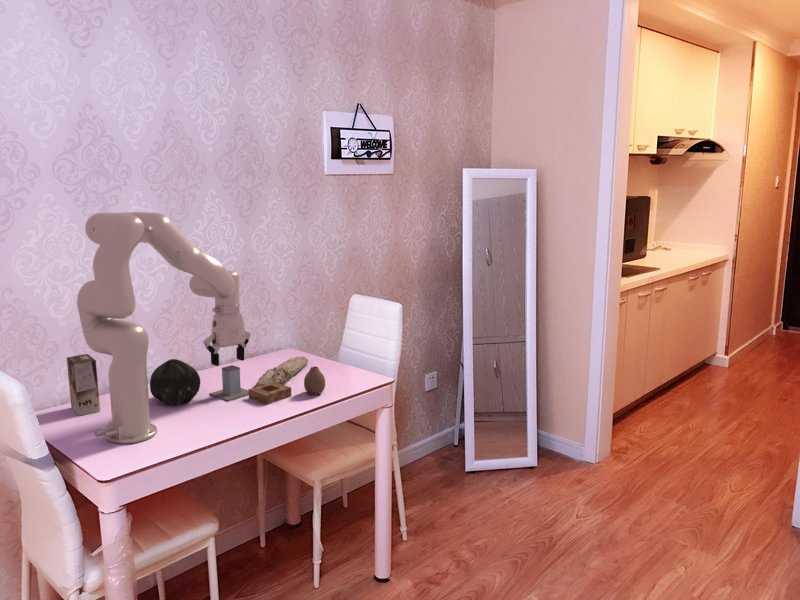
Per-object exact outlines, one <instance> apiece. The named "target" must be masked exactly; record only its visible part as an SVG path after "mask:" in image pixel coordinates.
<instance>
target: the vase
mask: <svg viewBox="0 0 800 600" xmlns="http://www.w3.org/2000/svg"><path fill="white" fill-rule="evenodd" d="M303 387H304V390H305V392H306V393H307V394H308V395H311V396H319V395H321V394H322V393H323V392H324V391H325V389H326V379H325V376H324V374H323V373H322V372H321V370H320V368H319V367H318V366H311V367H310V368H309V370H308V372H307V373H306V375H305V376H304V380H303Z"/></svg>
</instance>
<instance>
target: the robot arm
mask: <svg viewBox="0 0 800 600" xmlns="http://www.w3.org/2000/svg"><path fill="white" fill-rule="evenodd" d="M84 231H85V234H86V236H87V238H88V239H89V240H90V241H91V242H93V243H94V244H97V245H99V246H98V248H97V249H96V252H95V254H94V257H93V261H92V270H93V276H94V279H93V280H89V281H87V282H85V283H83V285H82V286H81V287H80V289H79V291H78V292H77V293H78V294H77V299H76V307H77V311H78V315H79V316H78V317H79V320H80V324H81V329H82V333H83V337H84V340H85V343H86V345H87V347H89V348H90V349H91V350H92V351H94V352H96V353H100V354H104V355H109V356H112V360H111V363H110V366H109V368H108V386H109V399H110V411H111V420H110V421H108V425H106V426H105V427H103V428H100V429H99V428H98V429H95V430H94V431H93V432H94V436H95V438H99V437H103V436H104V438H107V440H108V441H109V442H112V443H115V444H123V445H125V444H134V443H140V442H143V441H145V440H149V439H151V438H153V437H154V436H156V434H158V428H157V425H155V423H154V424H153V423H151V413H150V412H151V411H150V400H149V398H150V396H149V386H148V385H149V384H148V369H147V368H148V367H147V357H148V350H149V349H148V348H149V335H148V332H147V331H146V330H145V328H144V327H142V326H141V325H140V324H138V323H136V322H132V321H126V320H123V319H127V318H129V317H131V316H132V315H133V314H134V312H135V309H136V298H135V293H134V287H133V283H132V277H131V270H130V260H131V257H132V254H133V252H134V251H135V249H136V247H137V246H138V245H139V244H140V243H142V244H143V243H144V244H149V245H150V246H151V247H152V248H153V249H154V250H155V251H156V252H157V253H158V254H159V255H160V256H161V257H162V258H163V259H164V261H166V262H167V263H168V264H169V265H170V266H171V267H172V268H174V269H177V270H178V271H182V272H184V273H187V274H191V275H192V276H191V277H190V279H189V284H188V285H189V289H190V291H191V292H192V293H193V294H194V295H196V296H200V297H206V298H213V299H214V307H212V309H211V311H212V313H214V314H213V317H212V322H211V334H210V335H209V336H208V337H206V338H205V339H204V340H203V344H204V346H205V349H206V350H208V352H209V353H210V362H211V365H212V366H215V367H219V366H220V353H218V352H219V350H220V349H221V348H228V347H234V346H236V359H237V360H239V361H245V349H246V348H247V345H248V343H249V342H250V341H249V340H250V339H251V336H252V333H251V332H249V331H246V328H245V321H244V317H243V314H242V313H243V312H240V311H241V310H240V308H241V307H240V274H239V273H238V272H237V271H235V270H228V269H227V268H226V267H225V266H224V265H223V264H222V263H221V262H220V261H219V260H217V259H216V258H214V257H213V256H211V255H209V254H207V253H206V252H204V251H203V250H202V249H200V248H198V247H196V246H195V245H194V244H193V243H191V241H190V240H189V239H188V238H187V237H186V236H185V235H184V234H183V232H182V231H181V230H180V229H179V227H177V225H176V224H174V222H173V221H172V220H171V219H170V218H169V217H168V216H166V215H165V214H163V213H159V212H149V211H148V212H146V211H145V212H144V211H134V212H132V211H131V212H96V213H94V214H92V215H90V217H88V219H87V220H86V222H85V228H84ZM121 319H122V320H121Z"/></svg>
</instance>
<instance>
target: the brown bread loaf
mask: <svg viewBox="0 0 800 600" xmlns="http://www.w3.org/2000/svg"><path fill="white" fill-rule="evenodd" d="M308 363H309V359H308V358H307V357H306V356H303V355H302V356H295V357H291V358H288V359H287V360H286V361H284V362H282V363H280V364H279V365H277V366H275V367H273V368H270V369H267V370H266V371H265V373H263V374H262V375H261V376H260V377H259V378H258V379H257V382H256V387H257V386H261V385H264V384H267V383H270V382H275V383H279V384H282V385H285V384H287V383H288V382H289V381H290V380H291V379H292V378H293V377H294V376H295V375H296V374H298V373H299V372H300V371H302V370H303V369H304V368H305V367H306V366H308Z"/></svg>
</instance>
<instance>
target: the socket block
mask: <svg viewBox="0 0 800 600" xmlns="http://www.w3.org/2000/svg"><path fill="white" fill-rule="evenodd" d="M247 390H248V391H249V395H248V399H250V400H252V401H255V400H256V402H259V403H261V404H264V405H270V404H273V403H275V402H279V401H282V400H284V399H288V398H291V397H292V387H291V386H288V385H285V384H283V385H282V384H279V383H275V382H270V383H267V384H264V385H261V386H257V385H256V386H255V387H254V386H253V387H252V388H248V389H247Z"/></svg>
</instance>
